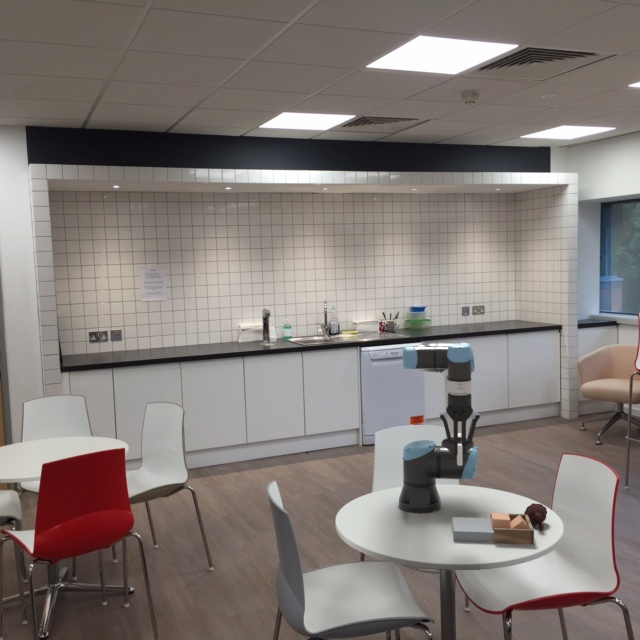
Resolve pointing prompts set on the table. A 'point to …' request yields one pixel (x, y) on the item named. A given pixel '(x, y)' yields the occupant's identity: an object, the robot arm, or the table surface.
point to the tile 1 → (500, 520)
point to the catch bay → (515, 533)
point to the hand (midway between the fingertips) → (459, 464)
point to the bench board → (472, 529)
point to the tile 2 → (518, 523)
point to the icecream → (536, 514)
